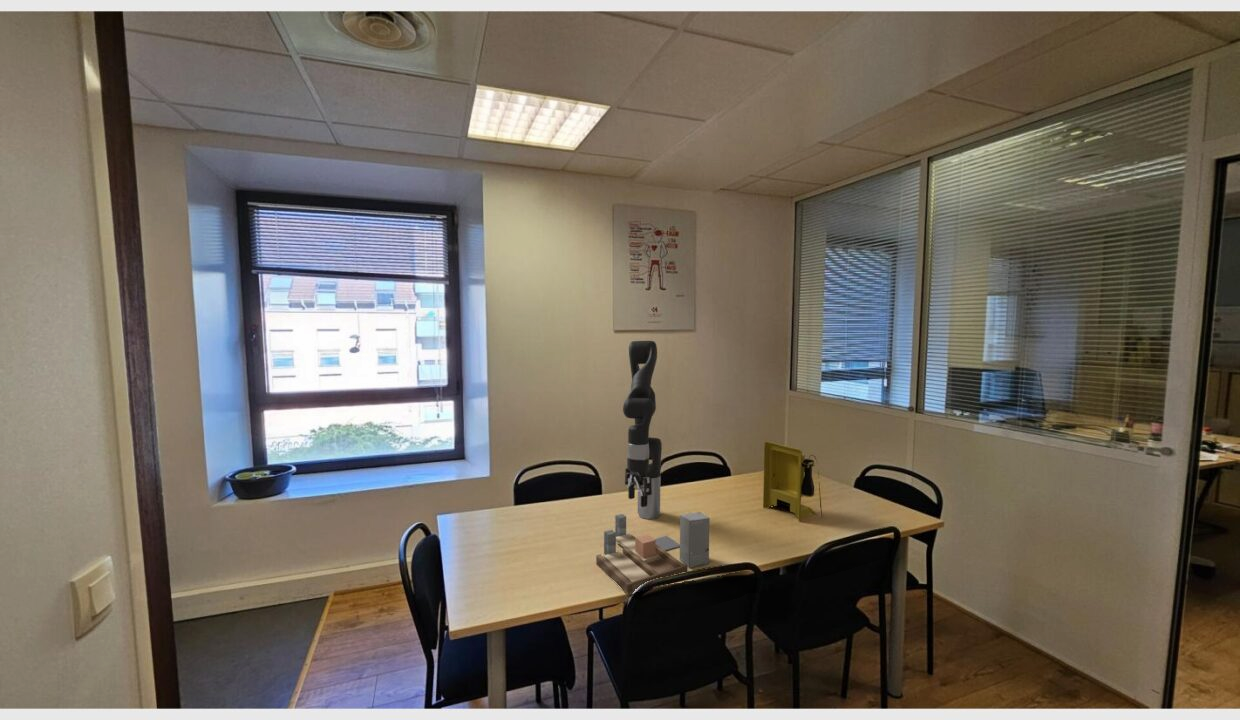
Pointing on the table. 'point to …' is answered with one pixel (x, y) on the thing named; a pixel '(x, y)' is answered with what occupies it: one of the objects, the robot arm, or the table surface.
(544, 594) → the table surface
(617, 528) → the strip
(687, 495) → the table surface
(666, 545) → the pad
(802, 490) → the vintage telephone
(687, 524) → the skincare box
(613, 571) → the lane board
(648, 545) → the cube
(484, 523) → the table surface
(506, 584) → the table surface
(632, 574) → the strip
